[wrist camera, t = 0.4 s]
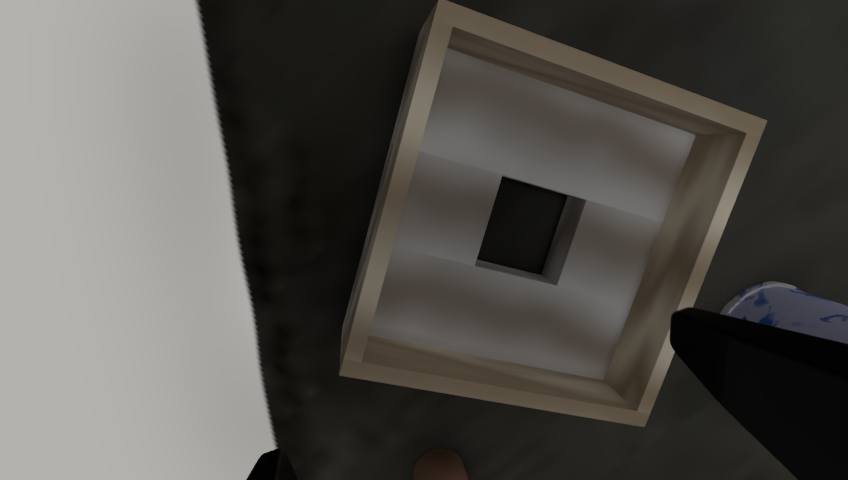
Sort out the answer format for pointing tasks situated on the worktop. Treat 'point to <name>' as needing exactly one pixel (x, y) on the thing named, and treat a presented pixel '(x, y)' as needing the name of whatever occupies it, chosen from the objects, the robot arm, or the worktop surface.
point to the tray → (575, 235)
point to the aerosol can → (790, 310)
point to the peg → (439, 466)
